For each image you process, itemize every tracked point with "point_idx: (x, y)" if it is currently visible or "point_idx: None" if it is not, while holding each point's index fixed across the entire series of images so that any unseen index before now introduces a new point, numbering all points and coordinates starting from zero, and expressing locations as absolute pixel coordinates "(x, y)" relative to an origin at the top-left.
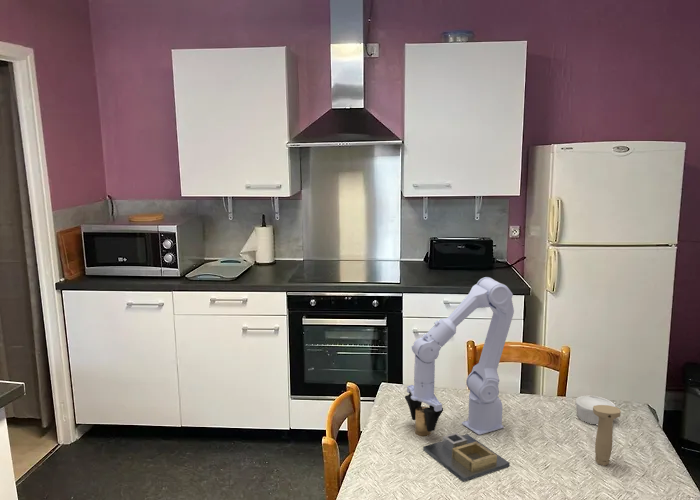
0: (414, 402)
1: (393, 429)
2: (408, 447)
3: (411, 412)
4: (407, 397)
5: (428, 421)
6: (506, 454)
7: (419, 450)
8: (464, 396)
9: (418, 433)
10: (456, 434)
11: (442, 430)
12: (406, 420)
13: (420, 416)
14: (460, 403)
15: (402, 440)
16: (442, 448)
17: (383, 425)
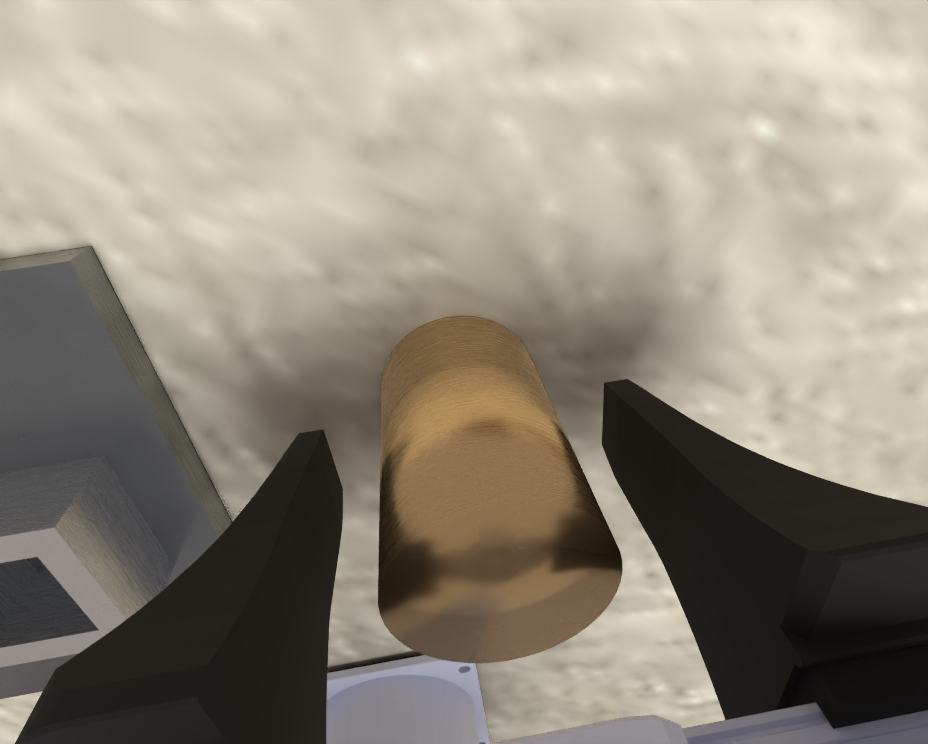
0: (728, 575)
1: (658, 116)
2: (173, 94)
3: (661, 423)
4: (898, 571)
5: (224, 533)
6: (11, 724)
7: (83, 199)
8: None
9: (423, 336)
10: (96, 633)
11: None
12: (734, 337)
13: (418, 489)
14: (698, 694)
15: (369, 100)
16: (21, 429)
17: (813, 29)
